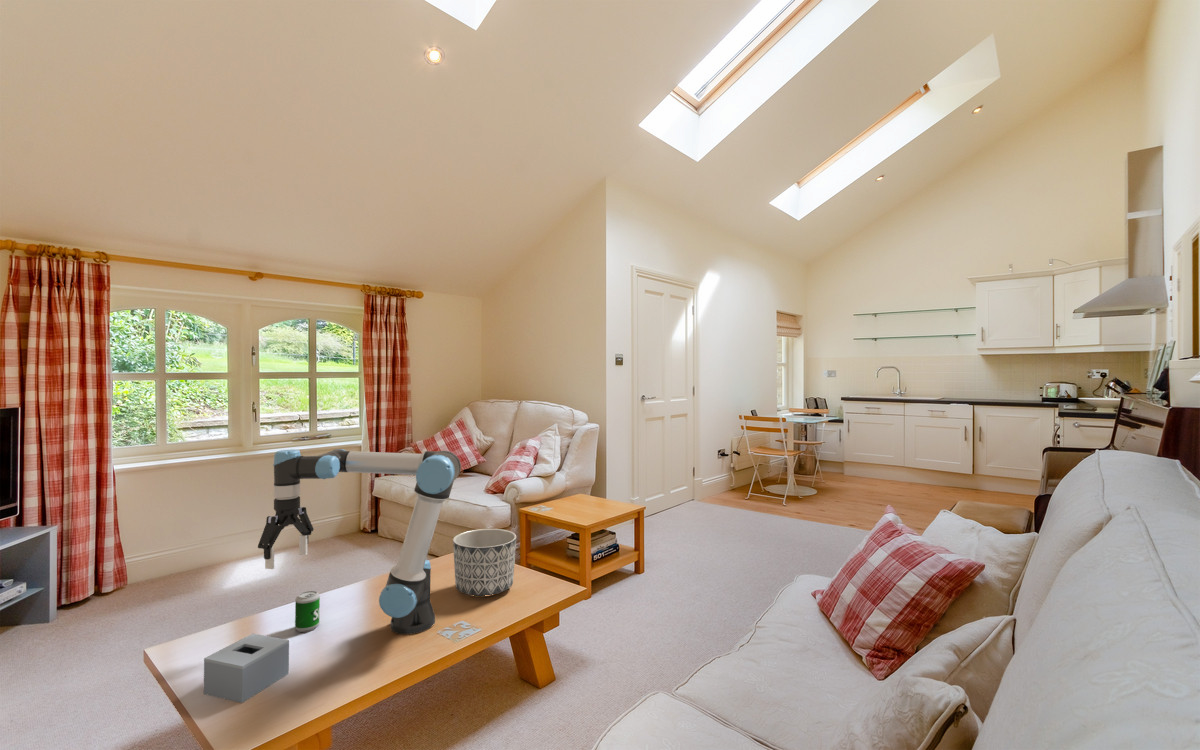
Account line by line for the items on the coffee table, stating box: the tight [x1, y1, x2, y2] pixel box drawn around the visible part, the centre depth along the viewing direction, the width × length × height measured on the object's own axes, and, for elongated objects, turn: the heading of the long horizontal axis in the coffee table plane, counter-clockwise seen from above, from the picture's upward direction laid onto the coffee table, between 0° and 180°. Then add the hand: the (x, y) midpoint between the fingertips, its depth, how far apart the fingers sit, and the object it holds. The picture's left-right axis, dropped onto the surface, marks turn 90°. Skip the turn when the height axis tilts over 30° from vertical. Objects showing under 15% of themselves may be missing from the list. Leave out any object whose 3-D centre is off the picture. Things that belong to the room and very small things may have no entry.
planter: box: [452, 528, 517, 597], centre depth 222 cm, size 26×26×22 cm
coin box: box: [203, 633, 290, 704], centre depth 153 cm, size 14×15×10 cm
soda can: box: [294, 590, 321, 633], centre depth 187 cm, size 8×8×12 cm
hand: (287, 561), depth 175 cm, fingers open, 13 cm apart
